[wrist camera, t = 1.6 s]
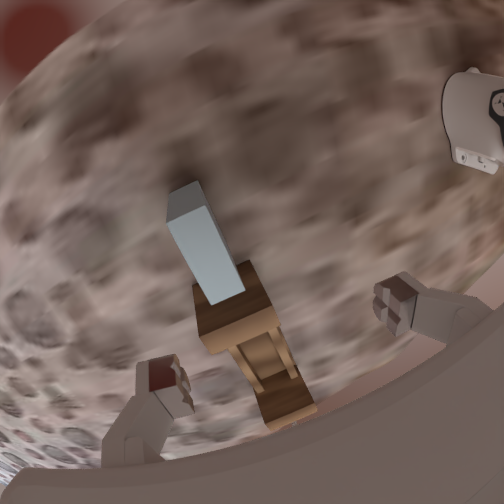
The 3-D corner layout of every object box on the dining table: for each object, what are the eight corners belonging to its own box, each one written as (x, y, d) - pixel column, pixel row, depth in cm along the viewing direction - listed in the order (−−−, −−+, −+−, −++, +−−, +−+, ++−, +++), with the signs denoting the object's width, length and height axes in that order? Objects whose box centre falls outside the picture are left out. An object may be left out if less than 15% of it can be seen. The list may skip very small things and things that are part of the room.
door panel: (228, 246, 36) (245, 290, 28) (201, 258, 36) (211, 305, 28) (197, 180, 32) (205, 204, 23) (169, 193, 32) (166, 223, 23)
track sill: (297, 367, 49) (318, 410, 41) (255, 385, 49) (270, 430, 40) (249, 259, 38) (272, 305, 29) (192, 285, 37) (199, 337, 29)
